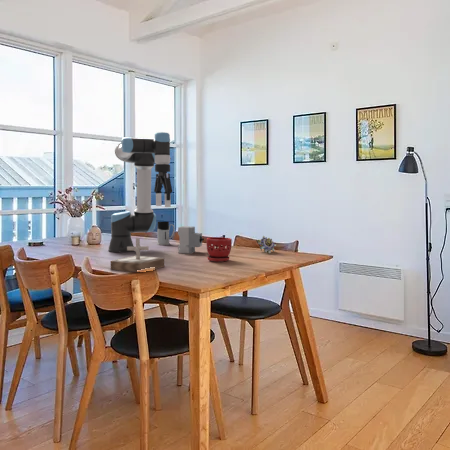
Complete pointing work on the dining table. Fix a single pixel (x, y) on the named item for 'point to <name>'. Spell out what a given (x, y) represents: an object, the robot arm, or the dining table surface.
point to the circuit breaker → (189, 239)
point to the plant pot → (218, 249)
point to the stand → (136, 263)
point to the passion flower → (266, 244)
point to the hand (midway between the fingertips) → (163, 206)
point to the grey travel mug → (163, 233)
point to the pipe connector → (138, 248)
